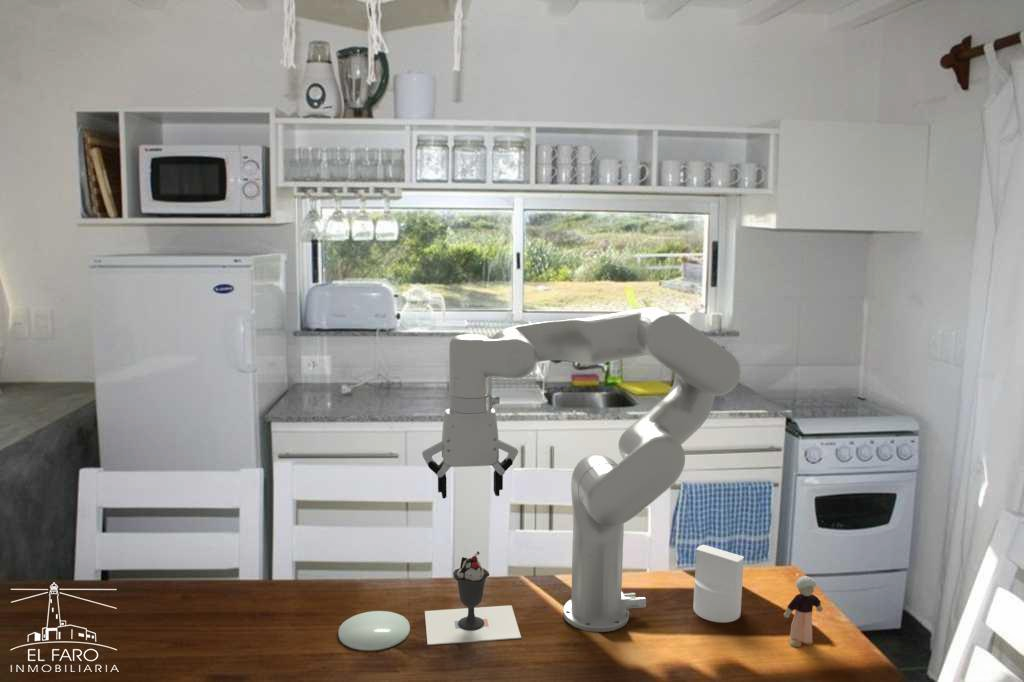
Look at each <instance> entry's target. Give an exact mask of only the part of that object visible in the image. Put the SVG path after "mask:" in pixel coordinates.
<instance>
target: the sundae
mask: <svg viewBox="0 0 1024 682" xmlns="http://www.w3.org/2000/svg"><path fill="white" fill-rule="evenodd" d="M479 555H480V551H476V553H475V554H474V555H473V556H472V557H469V558H467V557H464V556H463V557H461V562H460V567H459V568H456V569H455V570H454V571H453V573H452V574H453V578H454V580H455V581H457V586H458V594H459V599H460V603H462V604H463V605H464V606H465V607H467V608H468V616H467V617H464V618H462V619H460V620H459V622H458V625H459V627H460V628H462V629H465V630H477V629H480V628H481V627H483V625H484V621H483V619H481V618H479V617H475V614H474V608H476V607H477V606H478V605H479V604H480V603H481V602H482V599H483V595H484V587H485V582H486V579H487V578H488V577H489V576H490V572H489V571H488V570H487V569H485V568H484V567H482V565H481V562H480V560H478V558H479V557H477V556H479Z"/></svg>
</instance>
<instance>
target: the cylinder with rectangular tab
mask: <svg viewBox="0 0 1024 682" xmlns="http://www.w3.org/2000/svg"><path fill="white" fill-rule="evenodd" d="M744 558H745V556H743V555H740V554H737V553H733V552H730V551H726V550H723V549H720V548H717V547H714V546H710V545H707V544H701V545H698V547H696V548H695V572H694V573H695V574H694V585H693V586H694V587H693V605H692V606H693V612H694V613H695V614H696V615H697V616H699V617H700V618H701V619H704V620H707V621H709V622H713V623H731V622H735V621H737V620H738V619H739V618H741V611H742V610H741V609H742V595H743V578H744V575H743V574H744V560H745V559H744Z"/></svg>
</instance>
